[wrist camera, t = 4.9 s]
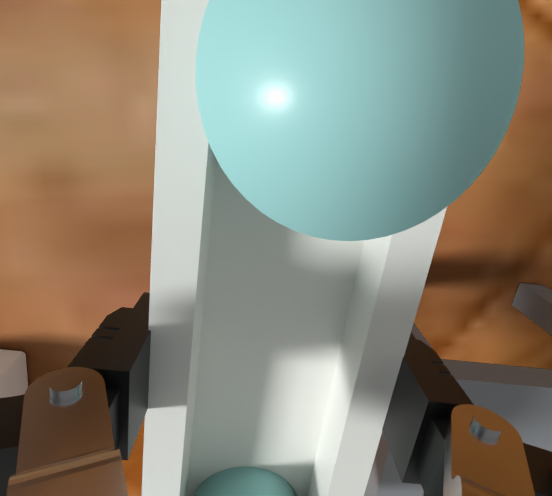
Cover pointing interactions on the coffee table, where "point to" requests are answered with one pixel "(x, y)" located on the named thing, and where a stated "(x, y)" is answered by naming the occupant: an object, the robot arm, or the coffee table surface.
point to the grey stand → (490, 395)
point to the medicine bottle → (13, 373)
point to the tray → (262, 315)
